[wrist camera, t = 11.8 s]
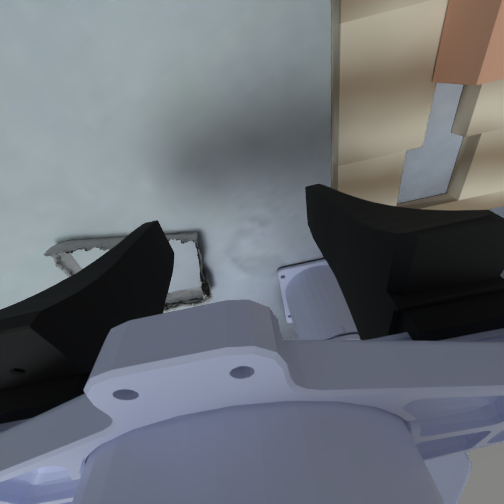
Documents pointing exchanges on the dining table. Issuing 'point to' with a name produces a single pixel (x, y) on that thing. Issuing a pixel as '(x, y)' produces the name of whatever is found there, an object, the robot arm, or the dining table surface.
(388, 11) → the keyhole board
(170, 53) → the dining table surface
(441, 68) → the slider block
